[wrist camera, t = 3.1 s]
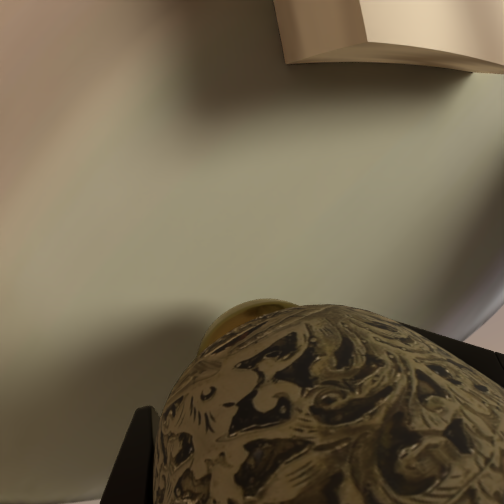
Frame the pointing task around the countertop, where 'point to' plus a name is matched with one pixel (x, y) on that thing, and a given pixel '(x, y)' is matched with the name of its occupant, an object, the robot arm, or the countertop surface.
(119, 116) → the countertop surface
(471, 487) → the cup
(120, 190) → the countertop surface
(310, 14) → the pedestal
